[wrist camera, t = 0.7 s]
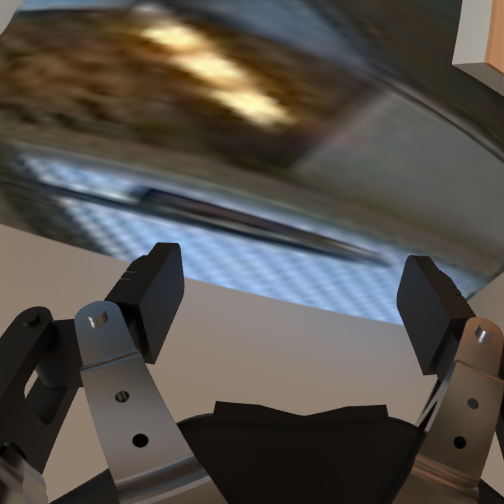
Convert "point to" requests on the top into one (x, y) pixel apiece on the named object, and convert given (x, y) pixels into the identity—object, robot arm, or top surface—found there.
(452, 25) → the top surface
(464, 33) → the parts tub
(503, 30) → the snap lid
